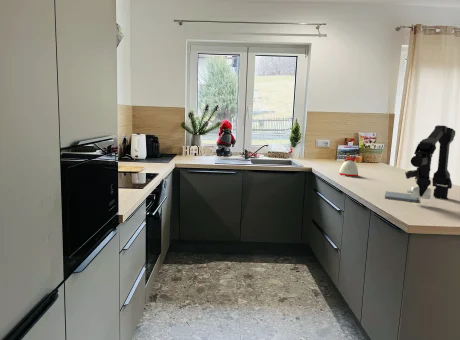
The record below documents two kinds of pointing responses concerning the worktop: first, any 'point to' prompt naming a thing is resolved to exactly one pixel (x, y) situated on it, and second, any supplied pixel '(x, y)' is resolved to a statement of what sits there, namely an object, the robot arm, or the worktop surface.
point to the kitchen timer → (349, 168)
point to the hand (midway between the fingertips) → (420, 195)
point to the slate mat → (400, 196)
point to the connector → (416, 193)
